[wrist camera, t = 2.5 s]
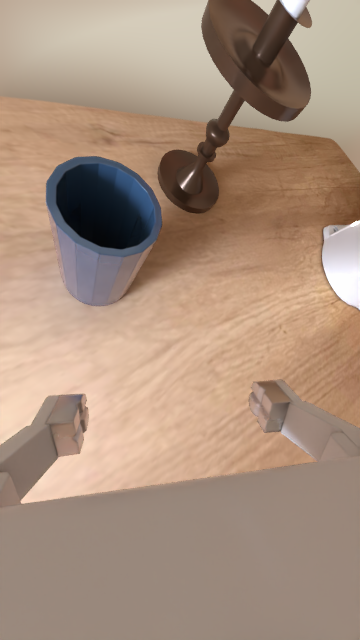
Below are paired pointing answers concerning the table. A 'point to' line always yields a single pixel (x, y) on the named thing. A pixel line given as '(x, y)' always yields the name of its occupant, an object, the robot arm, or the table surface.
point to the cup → (100, 226)
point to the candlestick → (241, 86)
